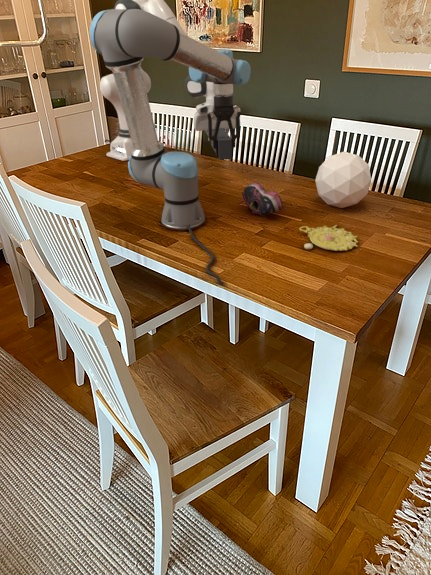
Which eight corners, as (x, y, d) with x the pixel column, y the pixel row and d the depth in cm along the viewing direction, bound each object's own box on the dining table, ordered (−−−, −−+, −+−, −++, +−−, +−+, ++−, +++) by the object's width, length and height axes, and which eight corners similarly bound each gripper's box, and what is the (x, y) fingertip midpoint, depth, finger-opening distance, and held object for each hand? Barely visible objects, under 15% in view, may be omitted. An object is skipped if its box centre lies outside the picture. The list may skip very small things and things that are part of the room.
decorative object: (343, 255, 128) (285, 234, 139) (342, 262, 130) (284, 241, 140) (372, 230, 142) (317, 213, 152) (371, 237, 143) (316, 219, 153)
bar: (231, 159, 180) (231, 139, 175) (219, 159, 179) (218, 140, 175) (222, 144, 200) (222, 126, 195) (210, 144, 199) (210, 126, 195)
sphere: (346, 226, 165) (361, 198, 146) (301, 199, 169) (309, 168, 151) (372, 190, 170) (389, 158, 151) (327, 165, 174) (338, 131, 156)
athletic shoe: (254, 181, 170) (227, 189, 167) (283, 176, 151) (253, 185, 147) (260, 210, 173) (234, 218, 170) (290, 209, 154) (261, 219, 150)
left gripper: (239, 103, 192) (239, 136, 199) (192, 106, 189) (194, 139, 197) (242, 106, 186) (241, 140, 194) (194, 109, 184) (195, 143, 192)
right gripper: (244, 92, 173) (244, 152, 186) (198, 94, 171) (201, 155, 184) (248, 95, 167) (248, 157, 180) (201, 98, 165) (203, 160, 177)
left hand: (217, 139), depth 195 cm, fingers closed on bar, 5 cm apart
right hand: (224, 155), depth 182 cm, fingers closed on bar, 5 cm apart
